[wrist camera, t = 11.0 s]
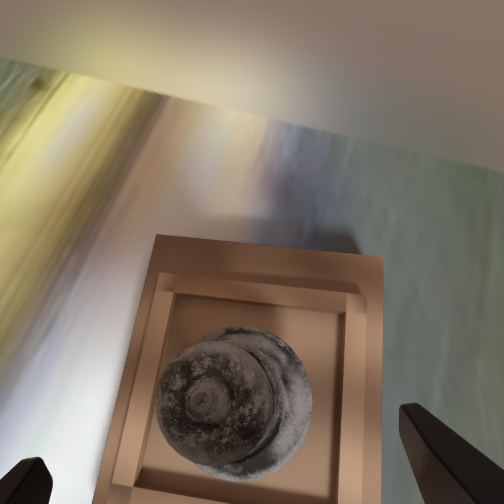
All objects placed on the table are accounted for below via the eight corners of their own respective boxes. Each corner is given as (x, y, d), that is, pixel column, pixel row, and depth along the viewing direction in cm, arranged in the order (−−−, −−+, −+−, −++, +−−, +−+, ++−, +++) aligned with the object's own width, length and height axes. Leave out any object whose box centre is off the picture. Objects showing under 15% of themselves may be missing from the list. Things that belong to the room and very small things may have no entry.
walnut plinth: (363, 590, 18) (384, 638, 14) (105, 541, 19) (67, 574, 16) (370, 273, 23) (387, 251, 20) (170, 252, 25) (152, 228, 21)
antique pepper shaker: (248, 314, 20) (211, 210, 9) (331, 400, 18) (416, 406, 7) (163, 395, 19) (-4, 395, 8) (243, 496, 17) (178, 687, 6)
